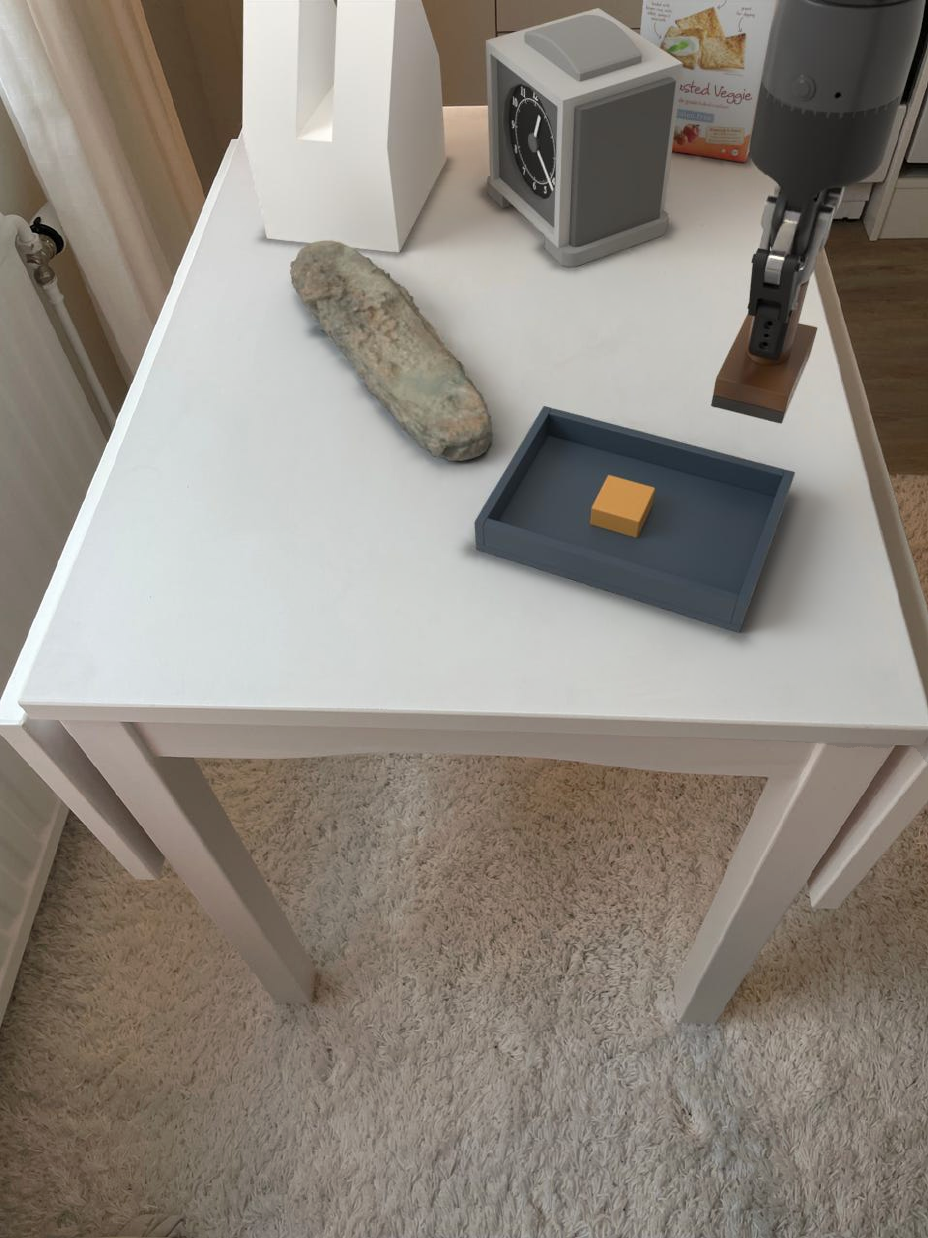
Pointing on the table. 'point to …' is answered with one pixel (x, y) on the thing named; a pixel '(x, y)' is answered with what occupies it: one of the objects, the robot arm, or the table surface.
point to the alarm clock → (582, 133)
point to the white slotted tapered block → (341, 118)
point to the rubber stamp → (764, 371)
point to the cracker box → (713, 68)
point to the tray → (672, 533)
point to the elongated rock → (393, 349)
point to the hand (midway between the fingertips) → (771, 338)
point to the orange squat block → (622, 506)
